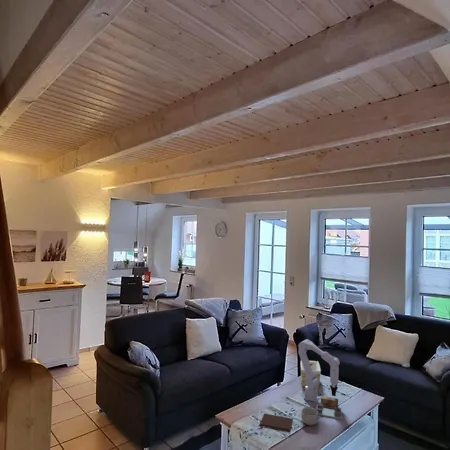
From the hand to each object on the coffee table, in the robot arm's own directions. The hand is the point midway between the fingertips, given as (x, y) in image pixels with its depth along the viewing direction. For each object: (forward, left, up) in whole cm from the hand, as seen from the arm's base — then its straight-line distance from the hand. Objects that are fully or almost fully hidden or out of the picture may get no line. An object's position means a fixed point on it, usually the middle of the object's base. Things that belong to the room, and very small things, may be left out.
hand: (333, 393), depth 257 cm
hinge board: (-3, -13, -9) cm, 16 cm away
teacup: (-14, -29, -10) cm, 33 cm away
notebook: (-35, -39, -10) cm, 53 cm away
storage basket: (-21, +35, -10) cm, 42 cm away
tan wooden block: (-3, -2, -10) cm, 10 cm away
